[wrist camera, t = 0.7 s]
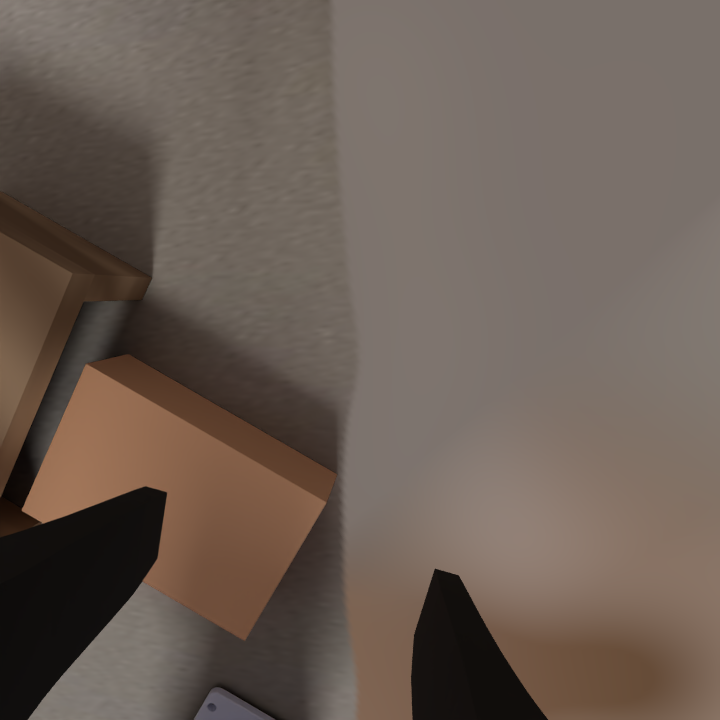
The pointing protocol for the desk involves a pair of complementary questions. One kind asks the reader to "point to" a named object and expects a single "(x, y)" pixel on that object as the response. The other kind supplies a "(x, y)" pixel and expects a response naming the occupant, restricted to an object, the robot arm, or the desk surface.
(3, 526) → the overhang shelf
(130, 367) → the tan rectangular slab
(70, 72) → the desk surface
